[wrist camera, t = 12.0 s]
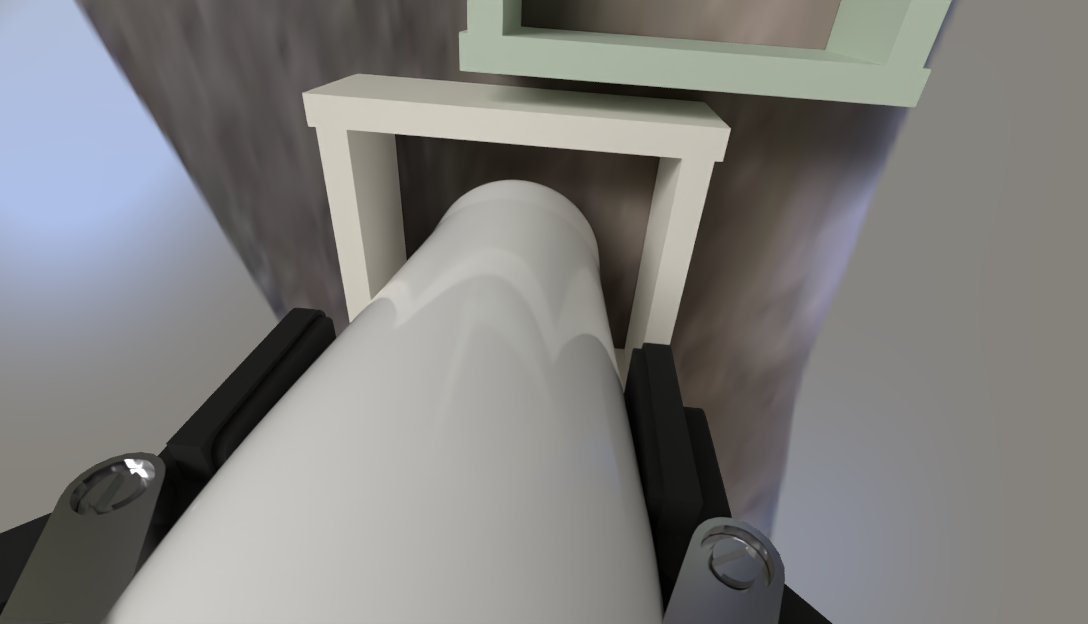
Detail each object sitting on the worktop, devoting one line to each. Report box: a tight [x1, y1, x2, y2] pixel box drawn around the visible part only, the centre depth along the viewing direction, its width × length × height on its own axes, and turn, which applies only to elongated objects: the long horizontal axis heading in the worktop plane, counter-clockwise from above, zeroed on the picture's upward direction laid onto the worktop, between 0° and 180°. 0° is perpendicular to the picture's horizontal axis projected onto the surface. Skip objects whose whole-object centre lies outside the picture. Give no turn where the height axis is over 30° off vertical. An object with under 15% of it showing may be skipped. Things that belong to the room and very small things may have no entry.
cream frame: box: [302, 74, 731, 392], centre depth 17 cm, size 10×11×4 cm
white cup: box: [99, 180, 665, 624], centre depth 11 cm, size 7×7×15 cm
